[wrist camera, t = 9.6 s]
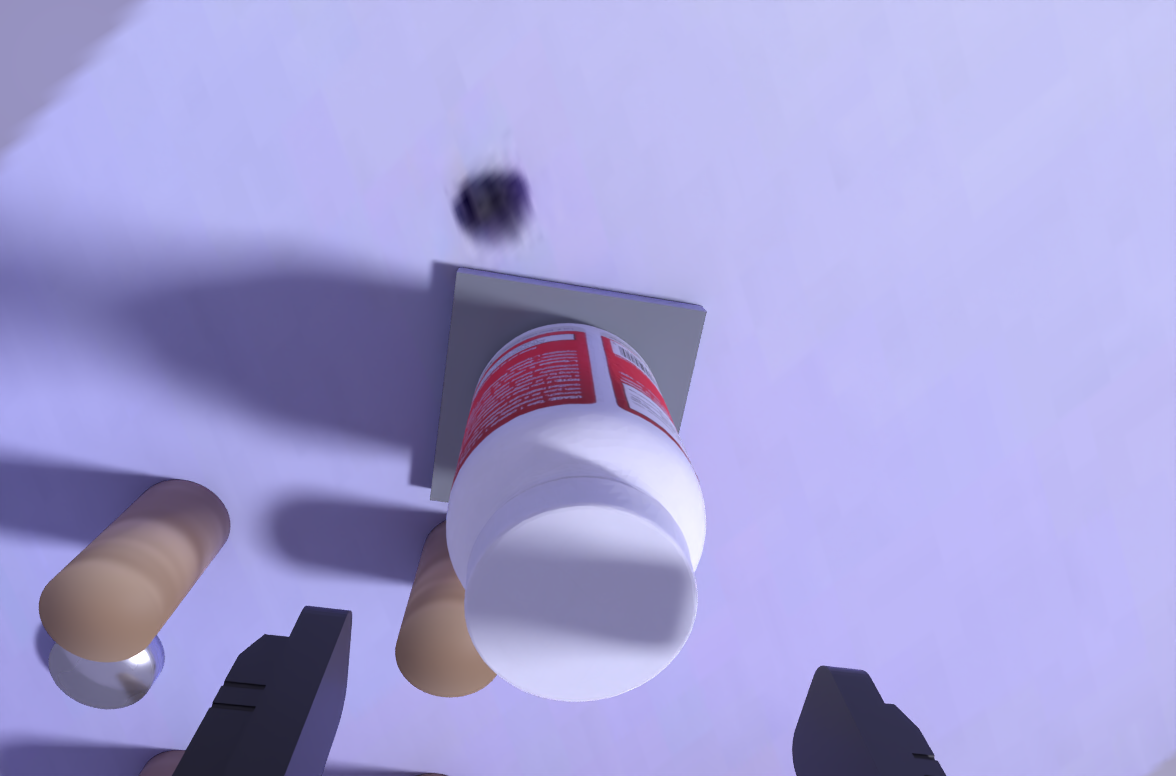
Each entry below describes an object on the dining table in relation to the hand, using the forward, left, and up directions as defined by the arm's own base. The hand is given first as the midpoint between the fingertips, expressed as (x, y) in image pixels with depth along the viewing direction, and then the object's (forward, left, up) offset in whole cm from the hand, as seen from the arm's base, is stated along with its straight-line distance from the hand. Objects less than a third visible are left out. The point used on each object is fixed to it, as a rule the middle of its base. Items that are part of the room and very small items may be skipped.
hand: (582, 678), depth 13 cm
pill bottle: (0, 0, -13) cm, 13 cm away
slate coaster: (0, 0, -14) cm, 14 cm away
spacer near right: (+7, -3, -14) cm, 16 cm away
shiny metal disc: (+13, -15, -14) cm, 24 cm away
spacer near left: (+7, -13, -14) cm, 20 cm away
